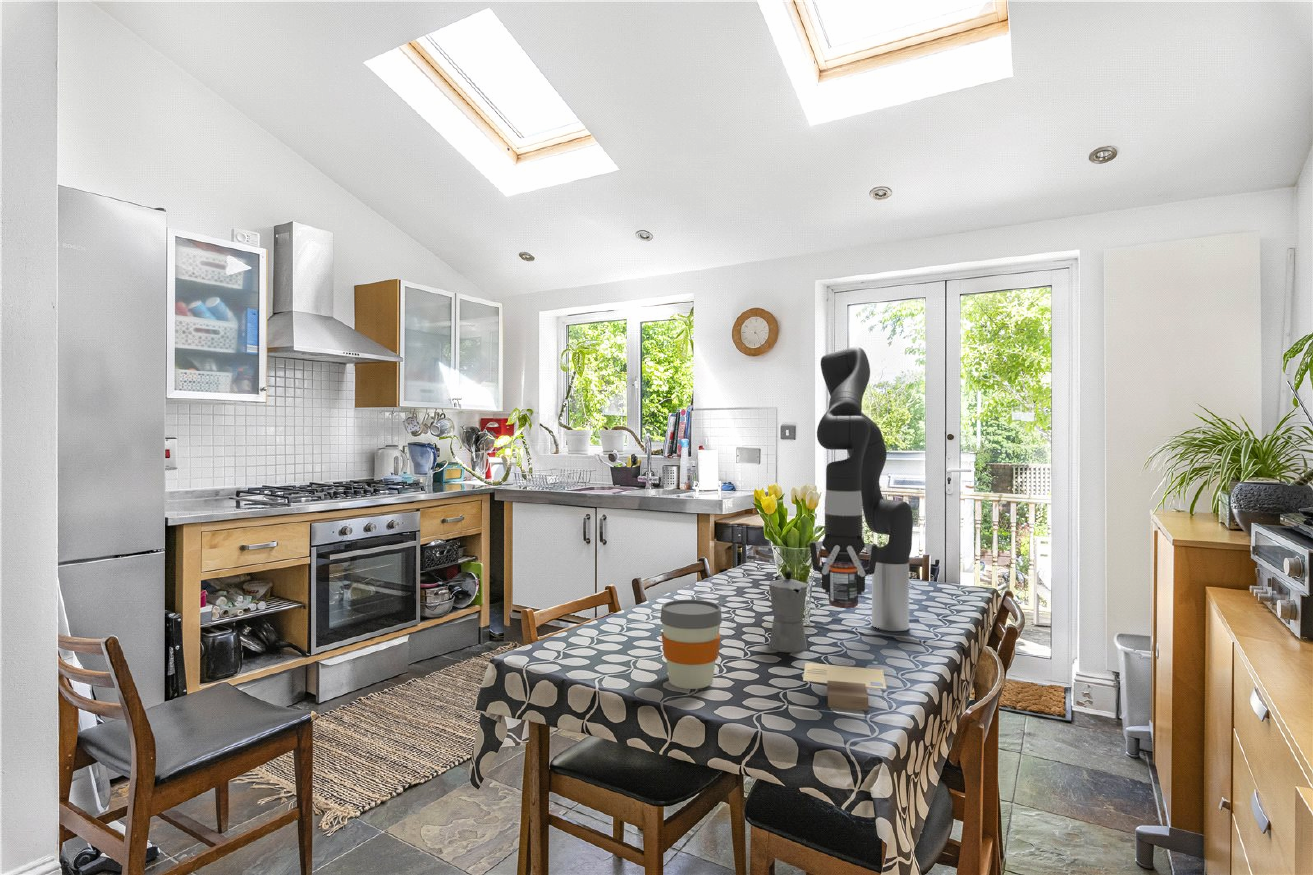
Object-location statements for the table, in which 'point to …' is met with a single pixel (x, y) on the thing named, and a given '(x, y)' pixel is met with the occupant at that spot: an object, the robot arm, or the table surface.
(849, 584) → the supplement bottle
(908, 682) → the table surface
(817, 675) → the letter
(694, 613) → the reusable coffee cup
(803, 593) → the coffeepot
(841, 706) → the block
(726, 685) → the table surface
